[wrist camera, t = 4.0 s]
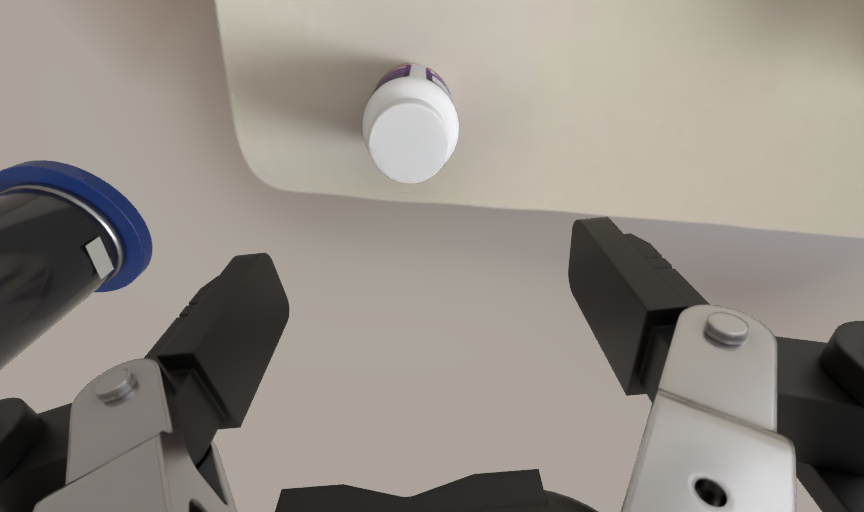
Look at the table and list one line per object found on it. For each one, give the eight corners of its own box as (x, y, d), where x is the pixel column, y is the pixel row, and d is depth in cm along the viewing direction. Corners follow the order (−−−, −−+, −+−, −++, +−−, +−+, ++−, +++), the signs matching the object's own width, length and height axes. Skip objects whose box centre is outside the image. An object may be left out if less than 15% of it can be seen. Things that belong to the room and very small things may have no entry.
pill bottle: (372, 139, 28) (351, 190, 20) (376, 57, 25) (353, 78, 17) (445, 147, 29) (454, 201, 20) (457, 68, 26) (473, 94, 18)
